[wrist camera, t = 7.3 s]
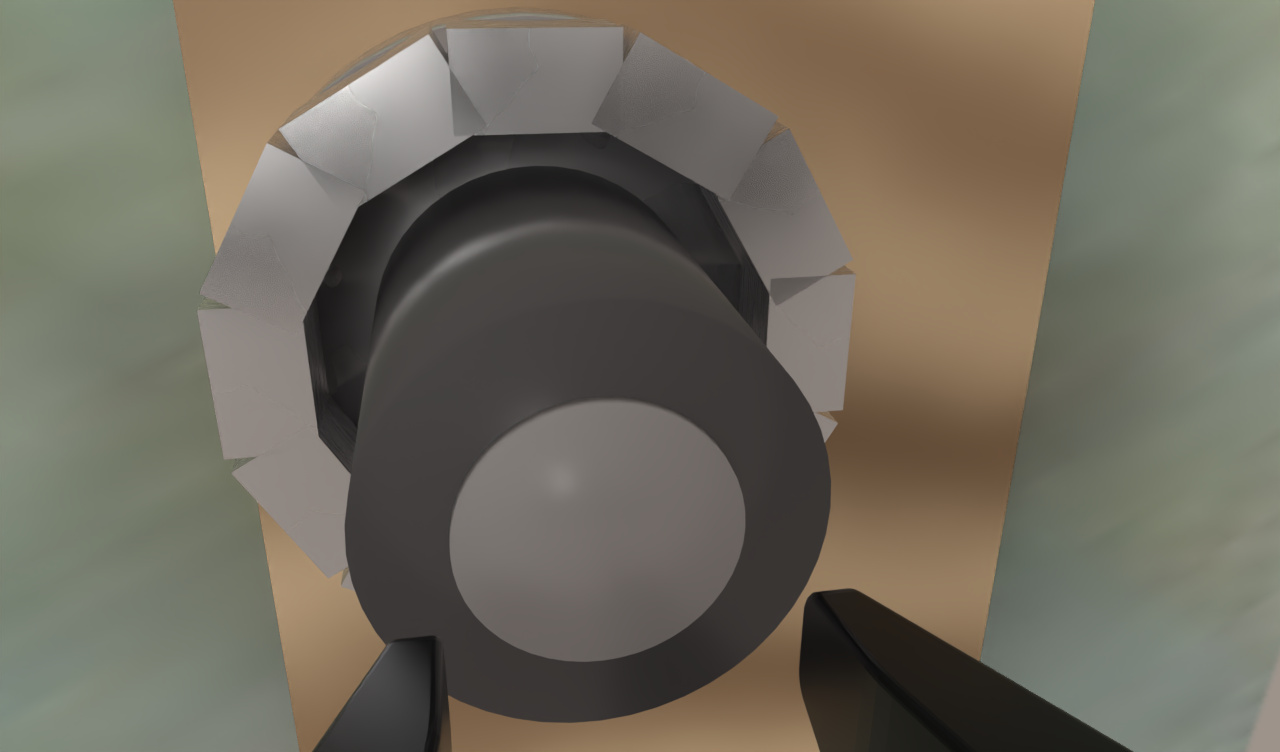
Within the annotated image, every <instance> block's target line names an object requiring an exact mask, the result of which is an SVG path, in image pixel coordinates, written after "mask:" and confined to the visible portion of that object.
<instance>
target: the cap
mask: <svg viewBox="0 0 1280 752" xmlns="http://www.w3.org/2000/svg"><path fill="white" fill-rule="evenodd" d="M830 508H831V476H830V467H829V459H828V453H827V449H826V446H825V442H824V439H823V435H822V432H821V428H820V426H819V424H818V422H817V419H816V417H815V415H814V413H813V411H812V408H811V406H810V404H809V402H808V401H807V399H806V398H805V396H804V395H803V393H802V392H801V390H800V389H799V387H798V386H797V384H796V383H795V381H794V380H793V378H792V377H791V376H790V375H789V374H788V372H787V371H786V370H785V369H784V368H783V366H782V365H781V364H780V363H779V361H778V360H777V359H776V358H775V357H774V355H773V354H772V353H771V352H770V351H769V349H768V348H767V347H766V346H765V344H764V343H763V342H762V341H761V340H760V338H759V337H758V336H757V335H756V334H755V332H754V331H753V330H752V329H751V327H750V326H749V325H748V324H747V323H746V321H745V320H744V319H743V318H742V317H741V315H740V314H739V313H738V312H737V311H736V309H735V308H734V307H733V306H732V304H731V303H730V302H729V301H728V300H727V298H726V297H725V296H724V295H723V294H722V292H721V291H720V290H719V289H718V287H717V286H716V285H715V284H714V283H713V281H712V280H711V279H710V278H709V277H708V275H707V274H706V273H705V272H704V270H703V269H702V268H701V267H700V266H699V264H698V263H697V262H696V261H695V260H694V258H693V257H692V256H691V255H690V253H689V252H688V251H687V250H686V249H685V247H684V246H683V245H682V244H681V243H680V241H679V240H678V239H677V238H676V236H675V235H674V234H673V233H672V232H671V230H670V229H669V228H668V227H667V226H666V224H665V223H664V222H663V221H662V220H661V219H660V218H659V217H658V215H657V214H656V213H655V212H654V211H653V210H652V209H651V208H650V207H648V206H647V205H646V204H645V203H644V202H643V201H641V200H640V199H639V198H638V197H637V196H635V195H633V194H632V193H630V192H629V191H627V190H626V189H624V188H622V187H621V186H619V185H617V184H615V183H613V182H611V181H609V180H606V179H604V178H602V177H600V176H597V175H593V174H590V173H587V172H584V171H580V170H576V169H570V168H564V167H558V166H526V167H516V168H510V169H505V170H501V171H497V172H493V173H489V174H486V175H484V176H481V177H478V178H476V179H473V180H470V181H468V182H466V183H465V184H463V185H461V186H459V187H457V188H455V189H453V190H451V191H450V192H448V193H447V194H445V195H444V196H443V197H441V198H440V199H439V200H437V201H436V202H434V203H433V204H432V205H431V206H429V207H428V208H427V209H426V210H425V211H424V212H423V213H422V214H421V215H420V216H419V217H418V218H417V219H416V220H415V221H414V222H413V223H412V225H411V226H410V227H409V228H408V230H407V231H406V232H405V233H404V235H403V236H402V237H401V239H400V241H399V242H398V244H397V246H396V247H395V249H394V251H393V252H392V254H391V256H390V259H389V261H388V263H387V266H386V268H385V270H384V273H383V276H382V279H381V283H380V287H379V291H378V295H377V301H376V308H375V315H374V322H373V328H372V335H371V342H370V349H369V355H368V362H367V369H366V376H365V382H364V389H363V396H362V403H361V409H360V416H359V423H358V430H357V436H356V443H355V450H354V457H353V463H352V470H351V477H350V484H349V490H348V497H347V507H346V516H345V525H344V527H345V547H346V558H347V562H348V567H349V572H350V576H351V581H352V584H353V587H354V589H355V592H356V595H357V597H358V600H359V602H360V605H361V608H362V610H363V611H364V613H365V615H366V616H367V618H368V620H369V622H370V623H371V625H372V627H373V629H374V630H375V632H376V633H377V635H378V636H379V637H380V638H381V640H382V641H383V642H384V643H385V645H387V644H388V643H390V642H391V641H392V640H396V639H402V638H411V637H420V636H429V635H436V636H438V637H440V638H441V640H442V642H443V648H444V657H445V668H446V679H447V690H448V695H449V696H451V697H453V698H455V699H456V700H458V701H460V702H463V703H466V704H468V705H471V706H473V707H476V708H479V709H481V710H484V711H487V712H491V713H495V714H499V715H503V716H507V717H511V718H515V719H522V720H530V721H537V722H554V723H577V722H590V721H602V720H607V719H612V718H618V717H623V716H629V715H633V714H636V713H639V712H643V711H646V710H650V709H653V708H657V707H659V706H662V705H664V704H667V703H669V702H672V701H674V700H677V699H679V698H682V697H684V696H686V695H688V694H690V693H692V692H694V691H696V690H698V689H700V688H702V687H704V686H705V685H707V684H709V683H711V682H712V681H714V680H715V679H717V678H719V677H720V676H722V675H723V674H725V673H726V672H728V671H729V670H731V669H732V668H734V667H735V666H736V665H737V664H739V663H740V662H741V661H742V660H743V659H745V658H746V657H747V656H748V655H750V654H751V653H752V652H753V651H754V650H756V649H757V648H758V647H759V646H760V645H761V644H762V643H763V642H764V641H765V640H766V639H767V637H768V636H769V635H770V634H771V633H772V632H773V631H774V630H775V629H776V628H777V627H778V626H779V624H780V623H781V622H782V620H783V619H784V618H785V617H786V615H787V614H788V613H789V612H790V610H791V609H792V608H793V606H794V604H795V603H796V601H797V600H798V598H799V596H800V595H801V593H802V591H803V590H804V588H805V587H806V585H807V583H808V581H809V579H810V576H811V574H812V572H813V570H814V568H815V565H816V563H817V561H818V559H819V555H820V552H821V549H822V546H823V542H824V539H825V536H826V532H827V526H828V520H829V514H830Z"/></svg>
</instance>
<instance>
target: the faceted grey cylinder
mask: <svg viewBox="0 0 1280 752" xmlns="http://www.w3.org/2000/svg"><path fill="white" fill-rule="evenodd" d="M778 117H779V116H777V115H775V114H774V113H772V112H770V111H769V110H767V109H765V108H764V107H762V106H761V105H759V104H757V103H756V102H754V101H752V100H751V99H749V98H748V97H746V96H744V95H743V94H741V93H739V92H738V91H736V90H734V89H733V88H731V87H730V86H728V85H726V84H725V83H723V82H721V81H720V80H718V79H716V78H715V77H713V76H712V75H710V74H708V73H707V72H705V71H703V70H702V69H700V68H698V67H697V66H695V65H694V64H692V63H691V62H690V61H688V60H687V59H685V58H683V57H681V56H679V55H677V54H676V53H674V52H672V51H671V50H669V49H667V48H666V47H664V46H662V45H661V44H659V43H658V42H656V41H654V40H653V39H651V38H649V37H648V36H646V35H644V34H643V33H641V32H639V31H637V30H635V29H632V28H630V27H628V26H625V25H623V24H621V23H620V25H617V24H615V23H613V22H611V21H608V20H606V19H595V18H592V17H588V16H583V15H578V14H573V13H568V12H563V11H558V10H553V9H537V8H522V7H509V8H496V9H483V10H474V11H469V12H465V13H460V14H456V15H451V16H446V17H442V18H438V19H435V20H432V21H430V22H427V23H424V24H421V25H419V26H416V27H413V28H411V29H408V30H405V31H403V32H400V33H399V34H397V35H395V36H393V37H391V38H389V39H387V40H386V41H384V42H382V43H380V44H378V45H376V46H375V47H373V48H371V49H369V50H367V51H366V52H364V53H363V54H362V55H360V56H359V57H358V58H356V59H355V60H354V61H352V62H351V63H350V64H348V65H347V66H346V67H344V68H343V69H342V70H340V71H339V72H338V73H336V74H335V75H334V76H333V77H332V78H331V79H330V80H329V81H328V82H327V83H326V84H325V85H324V86H323V87H322V88H321V89H320V90H319V91H318V92H317V93H316V94H315V95H314V96H313V97H312V98H311V99H310V100H309V101H308V102H307V103H305V104H304V105H302V106H301V107H299V108H297V109H296V110H294V111H293V112H292V114H291V115H290V116H289V117H288V118H287V120H286V121H285V122H284V123H283V124H282V125H281V126H280V127H279V129H278V130H277V131H276V132H275V134H274V135H273V136H272V137H271V138H270V140H269V141H268V142H267V144H266V146H265V148H264V150H263V152H262V155H261V157H260V159H259V161H258V164H257V166H256V168H255V170H254V172H253V175H252V177H251V179H250V181H249V184H248V186H247V188H246V190H245V192H244V195H243V197H242V199H241V201H240V204H239V206H238V208H237V210H236V212H235V215H234V217H233V219H232V221H231V224H230V226H229V228H228V230H227V232H226V235H225V237H224V239H223V241H222V244H221V246H220V248H219V250H218V253H217V255H216V257H215V259H214V261H213V264H212V266H211V268H210V270H209V273H208V275H207V277H206V279H205V281H204V284H203V286H202V288H201V290H200V293H199V294H200V295H203V296H205V298H204V300H203V302H202V303H201V305H200V306H199V308H198V309H197V313H198V319H199V324H200V330H201V335H202V341H203V347H204V352H205V358H206V363H207V369H208V374H209V380H210V385H211V391H212V396H213V402H214V407H215V413H216V418H217V424H218V430H219V435H220V441H221V446H222V452H223V457H224V459H235V458H236V461H235V464H234V466H233V469H232V472H231V474H232V475H233V476H234V477H235V478H236V479H237V480H238V481H239V482H240V483H241V485H242V486H243V487H244V488H245V489H246V490H247V491H248V492H249V493H250V494H251V495H252V496H253V498H254V499H255V500H256V501H257V502H258V503H259V504H260V505H261V506H262V507H263V508H264V509H265V511H266V512H267V513H268V514H269V515H270V516H271V517H272V518H273V519H274V520H275V521H276V522H277V524H278V525H279V526H280V527H281V528H282V529H283V530H284V531H285V532H286V533H287V534H288V535H289V537H290V538H291V539H292V540H293V541H294V542H295V543H296V544H297V545H298V546H299V547H300V548H301V550H302V551H303V552H304V553H305V554H306V555H307V556H308V557H309V558H310V559H311V560H312V561H313V563H314V564H315V565H316V566H317V567H318V568H319V569H320V570H321V571H322V572H323V573H324V574H325V576H326V577H327V578H328V579H329V578H330V577H332V576H333V575H335V574H337V573H338V572H340V571H342V570H343V574H342V581H341V587H344V588H347V589H350V590H352V591H355V589H354V587H353V584H352V581H351V576H350V572H349V567H348V562H347V558H346V547H345V527H344V525H345V516H346V507H347V497H348V490H349V484H350V477H351V470H352V463H353V457H354V450H355V443H356V436H357V430H358V423H359V416H360V409H361V403H362V396H363V389H364V382H365V376H366V369H367V362H368V355H369V349H370V342H371V335H372V328H373V322H374V315H375V308H376V301H377V295H378V291H379V287H380V283H381V279H382V276H383V273H384V270H385V268H386V266H387V263H388V261H389V259H390V256H391V254H392V252H393V251H394V249H395V247H396V246H397V244H398V242H399V241H400V239H401V237H402V236H403V235H404V233H405V232H406V231H407V230H408V228H409V227H410V226H411V225H412V223H413V222H414V221H415V220H416V219H417V218H418V217H419V216H420V215H421V214H422V213H423V212H424V211H425V210H426V209H427V208H428V207H429V206H431V205H432V204H433V203H434V202H436V201H437V200H439V199H440V198H441V197H443V196H444V195H445V194H447V193H448V192H450V191H451V190H453V189H455V188H457V187H459V186H461V185H463V184H465V183H466V182H468V181H470V180H473V179H476V178H478V177H481V176H484V175H486V174H489V173H493V172H497V171H501V170H505V169H510V168H516V167H526V166H558V167H564V168H570V169H576V170H580V171H584V172H587V173H590V174H593V175H597V176H600V177H602V178H604V179H606V180H609V181H611V182H613V183H615V184H617V185H619V186H621V187H622V188H624V189H626V190H627V191H629V192H630V193H632V194H633V195H635V196H637V197H638V198H639V199H640V200H641V201H643V202H644V203H645V204H646V205H647V206H648V207H650V208H651V209H652V210H653V211H654V212H655V213H656V214H657V215H658V217H659V218H660V219H661V220H662V221H663V222H664V223H665V224H666V226H667V227H668V228H669V229H670V230H671V232H672V233H673V234H674V235H675V236H676V238H677V239H678V240H679V241H680V243H681V244H682V245H683V246H684V247H685V249H686V250H687V251H688V252H689V253H690V255H691V256H692V257H693V258H694V260H695V261H696V262H697V263H698V264H699V266H700V267H701V268H702V269H703V270H704V272H705V273H706V274H707V275H708V277H709V278H710V279H711V280H712V281H713V283H714V284H715V285H716V286H717V287H718V289H719V290H720V291H721V292H722V294H723V295H724V296H725V297H726V298H727V300H728V301H729V302H730V303H731V304H732V306H733V307H734V308H735V309H736V311H737V312H738V313H739V314H740V315H741V317H742V318H743V319H744V320H745V321H746V323H747V324H748V325H749V326H750V327H751V329H752V330H753V331H754V332H755V334H756V335H757V336H758V337H759V338H760V340H761V341H762V342H763V343H764V344H765V346H766V347H767V348H768V349H769V351H770V352H771V353H772V354H773V355H774V357H775V358H776V359H777V360H778V361H779V363H780V364H781V365H782V366H783V368H784V369H785V370H786V371H787V372H788V374H789V375H790V376H791V377H792V378H793V380H794V381H795V383H796V384H797V386H798V387H799V389H800V390H801V392H802V393H803V395H804V396H805V398H806V399H807V401H808V402H809V404H810V406H811V408H812V411H813V413H814V415H815V417H816V419H817V422H818V424H819V426H820V428H821V432H822V435H823V439H824V442H826V441H827V439H828V438H829V436H830V435H831V433H832V432H833V430H834V429H835V427H836V426H837V424H838V423H837V421H836V420H835V419H834V418H833V417H832V415H831V414H830V413H829V412H828V411H838V410H843V404H844V394H845V383H846V373H847V362H848V352H849V341H850V331H851V320H852V309H853V299H854V288H855V278H856V274H855V273H854V272H853V271H851V270H850V269H849V268H847V267H846V266H845V264H847V263H849V262H850V261H852V260H853V258H852V256H851V254H850V252H849V250H848V248H847V246H846V244H845V242H844V239H843V237H842V235H841V233H840V231H839V229H838V227H837V225H836V223H835V221H834V219H833V217H832V215H831V213H830V211H829V209H828V207H827V205H826V203H825V200H824V198H823V196H822V194H821V192H820V190H819V188H818V186H817V184H816V182H815V180H814V178H813V176H812V174H811V172H810V170H809V168H808V166H807V164H806V161H805V159H804V157H803V155H802V153H801V151H800V149H799V147H798V145H797V143H796V141H795V139H794V137H793V135H792V133H791V131H790V129H789V128H788V127H786V126H784V125H782V124H780V123H778V122H776V120H777V119H778Z"/></svg>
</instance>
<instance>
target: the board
mask: <svg viewBox="0 0 1280 752" xmlns="http://www.w3.org/2000/svg"><path fill="white" fill-rule="evenodd" d="M1094 3H1095V0H173V4H174V10H175V16H176V21H177V27H178V33H179V39H180V45H181V51H182V57H183V63H184V69H185V75H186V81H187V87H188V93H189V99H190V104H191V110H192V116H193V122H194V128H195V134H196V140H197V146H198V152H199V158H200V164H201V170H202V176H203V181H204V187H205V193H206V199H207V205H208V211H209V217H210V223H211V229H212V235H213V241H214V247H215V253H216V255H217V253H218V250H219V248H220V246H221V244H222V241H223V239H224V237H225V235H226V232H227V230H228V228H229V226H230V224H231V221H232V219H233V217H234V215H235V212H236V210H237V208H238V206H239V204H240V201H241V199H242V197H243V195H244V192H245V190H246V188H247V186H248V184H249V181H250V179H251V177H252V175H253V172H254V170H255V168H256V166H257V164H258V161H259V159H260V157H261V155H262V152H263V150H264V148H265V146H266V144H267V142H268V141H269V140H270V138H271V137H272V136H273V135H274V134H275V132H276V131H277V130H278V129H279V127H280V126H281V125H282V124H283V123H284V122H285V121H286V120H287V118H288V117H289V116H290V115H291V114H292V112H293V111H294V110H296V109H297V108H299V107H301V106H302V105H304V104H305V103H307V102H308V101H309V100H310V99H311V98H312V97H313V96H314V95H315V94H316V93H317V92H318V91H319V90H320V89H321V88H322V87H323V86H324V85H325V84H326V83H327V82H328V81H329V80H330V79H331V78H332V77H333V76H334V75H335V74H336V73H338V72H339V71H340V70H342V69H343V68H344V67H346V66H347V65H348V64H350V63H351V62H352V61H354V60H355V59H356V58H358V57H359V56H360V55H362V54H363V53H364V52H366V51H367V50H369V49H371V48H373V47H375V46H376V45H378V44H380V43H382V42H384V41H386V40H387V39H389V38H391V37H393V36H395V35H397V34H399V33H400V32H403V31H405V30H408V29H411V28H413V27H416V26H419V25H421V24H424V23H427V22H430V21H432V20H435V19H438V18H442V17H446V16H451V15H456V14H460V13H465V12H469V11H474V10H483V9H496V8H509V7H522V8H537V9H553V10H558V11H563V12H568V13H573V14H578V15H583V16H588V17H592V18H595V19H606V20H608V21H611V22H613V23H615V24H617V25H620V23H621V24H623V25H625V26H628V27H630V28H632V29H635V30H637V31H639V32H641V33H643V34H644V35H646V36H648V37H649V38H651V39H653V40H654V41H656V42H658V43H659V44H661V45H662V46H664V47H666V48H667V49H669V50H671V51H672V52H674V53H676V54H677V55H679V56H681V57H683V58H685V59H687V60H688V61H690V62H691V63H692V64H694V65H695V66H697V67H698V68H700V69H702V70H703V71H705V72H707V73H708V74H710V75H712V76H713V77H715V78H716V79H718V80H720V81H721V82H723V83H725V84H726V85H728V86H730V87H731V88H733V89H734V90H736V91H738V92H739V93H741V94H743V95H744V96H746V97H748V98H749V99H751V100H752V101H754V102H756V103H757V104H759V105H761V106H762V107H764V108H765V109H767V110H769V111H770V112H772V113H774V114H775V115H777V116H779V117H778V119H777V120H776V122H778V123H780V124H782V125H784V126H786V127H788V128H789V129H790V131H791V133H792V135H793V137H794V139H795V141H796V143H797V145H798V147H799V149H800V151H801V153H802V155H803V157H804V159H805V161H806V164H807V166H808V168H809V170H810V172H811V174H812V176H813V178H814V180H815V182H816V184H817V186H818V188H819V190H820V192H821V194H822V196H823V198H824V200H825V203H826V205H827V207H828V209H829V211H830V213H831V215H832V217H833V219H834V221H835V223H836V225H837V227H838V229H839V231H840V233H841V235H842V237H843V239H844V242H845V244H846V246H847V248H848V250H849V252H850V254H851V256H852V258H853V260H852V261H850V262H849V263H847V264H845V266H846V267H847V268H849V269H850V270H851V271H853V272H854V273H855V274H856V278H855V288H854V299H853V309H852V320H851V331H850V341H849V352H848V362H847V373H846V383H845V394H844V404H843V410H838V411H828V412H829V413H830V414H831V415H832V417H833V418H834V419H835V420H836V421H837V423H838V424H837V426H836V427H835V429H834V430H833V432H832V433H831V435H830V436H829V438H828V439H827V441H826V442H825V446H826V449H827V453H828V459H829V467H830V476H831V508H830V514H829V520H828V526H827V532H826V536H825V539H824V542H823V546H822V549H821V552H820V555H819V559H818V561H817V563H816V565H815V568H814V570H813V572H812V574H811V576H810V579H809V581H808V583H807V585H806V587H805V588H804V590H803V591H802V593H801V595H800V596H799V598H798V600H797V601H796V603H795V604H794V606H793V608H792V609H791V610H790V612H789V613H788V614H787V615H786V617H785V618H784V619H783V620H782V622H781V623H780V624H779V626H778V627H777V628H776V629H775V630H774V631H773V632H772V633H771V634H770V635H769V636H768V637H767V639H766V640H765V641H764V642H763V643H762V644H761V645H760V646H759V647H758V648H757V649H756V650H754V651H753V652H752V653H751V654H750V655H748V656H747V657H746V658H745V659H743V660H742V661H741V662H740V663H739V664H737V665H736V666H735V667H734V668H732V669H731V670H729V671H728V672H726V673H725V674H723V675H722V676H720V677H719V678H717V679H715V680H714V681H712V682H711V683H709V684H707V685H705V686H704V687H702V688H700V689H698V690H696V691H694V692H692V693H690V694H688V695H686V696H684V697H682V698H679V699H677V700H674V701H672V702H669V703H667V704H664V705H662V706H659V707H657V708H653V709H650V710H646V711H643V712H639V713H636V714H633V715H629V716H623V717H618V718H612V719H607V720H602V721H590V722H577V723H554V722H537V721H530V720H522V719H515V718H511V717H507V716H503V715H499V714H495V713H491V712H487V711H484V710H481V709H479V708H476V707H473V706H471V705H468V704H466V703H463V702H460V701H458V700H456V699H455V698H453V697H451V696H449V695H448V701H449V712H450V725H451V742H452V752H820V751H819V748H818V745H817V741H816V738H815V735H814V732H813V729H812V726H811V723H810V720H809V716H808V713H807V710H806V707H805V704H804V701H803V697H802V693H801V688H800V682H799V660H800V649H801V637H802V625H803V613H804V606H805V603H806V600H807V598H808V597H809V596H810V595H811V594H812V593H814V592H819V591H828V590H836V589H845V588H852V589H856V590H858V591H860V592H862V593H864V594H865V595H867V596H869V597H871V598H872V599H874V600H876V601H877V602H879V603H881V604H882V605H884V606H886V607H888V608H889V609H891V610H893V611H894V612H896V613H898V614H900V615H901V616H903V617H905V618H906V619H908V620H910V621H911V622H913V623H915V624H917V625H918V626H920V627H922V628H923V629H925V630H927V631H929V632H930V633H932V634H934V635H935V636H937V637H939V638H940V639H942V640H944V641H946V642H947V643H949V644H951V645H952V646H954V647H956V648H958V649H959V650H961V651H963V652H964V653H966V654H968V655H969V656H971V657H973V658H975V659H976V660H978V661H980V657H981V651H982V646H983V640H984V634H985V628H986V623H987V617H988V611H989V605H990V600H991V594H992V588H993V582H994V577H995V571H996V565H997V560H998V554H999V548H1000V542H1001V537H1002V531H1003V525H1004V519H1005V514H1006V508H1007V502H1008V496H1009V491H1010V485H1011V479H1012V473H1013V468H1014V462H1015V456H1016V450H1017V445H1018V439H1019V433H1020V428H1021V422H1022V416H1023V410H1024V405H1025V399H1026V393H1027V387H1028V382H1029V376H1030V370H1031V364H1032V359H1033V353H1034V347H1035V341H1036V336H1037V330H1038V324H1039V318H1040V313H1041V307H1042V301H1043V296H1044V290H1045V284H1046V278H1047V273H1048V267H1049V261H1050V255H1051V250H1052V244H1053V238H1054V232H1055V227H1056V221H1057V215H1058V209H1059V204H1060V198H1061V192H1062V186H1063V181H1064V175H1065V169H1066V164H1067V158H1068V152H1069V146H1070V141H1071V135H1072V129H1073V123H1074V118H1075V112H1076V106H1077V100H1078V95H1079V89H1080V83H1081V77H1082V72H1083V66H1084V60H1085V54H1086V49H1087V43H1088V37H1089V32H1090V26H1091V20H1092V14H1093V9H1094ZM258 507H259V513H260V519H261V525H262V531H263V537H264V543H265V549H266V555H267V561H268V566H269V572H270V578H271V584H272V590H273V596H274V602H275V608H276V614H277V620H278V626H279V632H280V638H281V643H282V649H283V655H284V661H285V667H286V673H287V679H288V685H289V691H290V697H291V703H292V709H293V715H294V720H295V726H296V732H297V738H298V744H299V750H300V752H312V751H313V750H314V748H315V747H316V745H317V744H318V742H319V741H320V740H321V738H322V737H323V735H324V734H325V732H326V731H327V730H328V728H329V727H330V725H331V724H332V722H333V721H334V720H335V718H336V717H337V715H338V714H339V712H340V711H341V710H342V708H343V707H344V705H345V704H346V702H347V701H348V700H349V698H350V697H351V695H352V694H353V692H354V691H355V690H356V688H357V687H358V685H359V684H360V682H361V681H362V680H363V678H364V677H365V675H366V674H367V672H368V671H369V670H370V668H371V667H372V665H373V664H374V662H375V661H376V660H377V658H378V657H379V655H380V654H381V652H382V651H383V650H384V648H385V647H386V645H385V643H384V642H383V641H382V640H381V638H380V637H379V636H378V635H377V633H376V632H375V630H374V629H373V627H372V625H371V623H370V622H369V620H368V618H367V616H366V615H365V613H364V611H363V610H362V608H361V605H360V602H359V600H358V597H357V595H356V592H355V591H352V590H350V589H347V588H344V587H341V581H342V574H343V570H342V571H340V572H338V573H337V574H335V575H333V576H332V577H330V578H329V579H328V578H327V577H326V576H325V574H324V573H323V572H322V571H321V570H320V569H319V568H318V567H317V566H316V565H315V564H314V563H313V561H312V560H311V559H310V558H309V557H308V556H307V555H306V554H305V553H304V552H303V551H302V550H301V548H300V547H299V546H298V545H297V544H296V543H295V542H294V541H293V540H292V539H291V538H290V537H289V535H288V534H287V533H286V532H285V531H284V530H283V529H282V528H281V527H280V526H279V525H278V524H277V522H276V521H275V520H274V519H273V518H272V517H271V516H270V515H269V514H268V513H267V512H266V511H265V509H264V508H263V507H262V506H261V505H260V504H259V503H258Z"/></svg>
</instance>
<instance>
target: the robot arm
mask: <svg viewBox="0 0 1280 752" xmlns="http://www.w3.org/2000/svg"><path fill="white" fill-rule="evenodd" d="M799 682H800V688H801V693H802V697H803V701H804V704H805V707H806V710H807V713H808V716H809V720H810V723H811V726H812V729H813V732H814V735H815V738H816V741H817V745H818V748H819V751H820V752H1133V751H1131V750H1130V749H1128V748H1126V747H1125V746H1123V745H1121V744H1120V743H1118V742H1116V741H1114V740H1113V739H1111V738H1109V737H1108V736H1106V735H1104V734H1102V733H1101V732H1099V731H1097V730H1096V729H1094V728H1092V727H1091V726H1089V725H1087V724H1085V723H1084V722H1082V721H1080V720H1079V719H1077V718H1075V717H1073V716H1072V715H1070V714H1068V713H1067V712H1065V711H1063V710H1062V709H1060V708H1058V707H1056V706H1055V705H1053V704H1051V703H1050V702H1048V701H1046V700H1044V699H1043V698H1041V697H1039V696H1038V695H1036V694H1034V693H1033V692H1031V691H1029V690H1027V689H1026V688H1024V687H1022V686H1021V685H1019V684H1017V683H1015V682H1014V681H1012V680H1010V679H1009V678H1007V677H1005V676H1004V675H1002V674H1000V673H998V672H997V671H995V670H993V669H992V668H990V667H988V666H987V665H985V664H983V663H981V662H980V661H978V660H976V659H975V658H973V657H971V656H969V655H968V654H966V653H964V652H963V651H961V650H959V649H958V648H956V647H954V646H952V645H951V644H949V643H947V642H946V641H944V640H942V639H940V638H939V637H937V636H935V635H934V634H932V633H930V632H929V631H927V630H925V629H923V628H922V627H920V626H918V625H917V624H915V623H913V622H911V621H910V620H908V619H906V618H905V617H903V616H901V615H900V614H898V613H896V612H894V611H893V610H891V609H889V608H888V607H886V606H884V605H882V604H881V603H879V602H877V601H876V600H874V599H872V598H871V597H869V596H867V595H865V594H864V593H862V592H860V591H858V590H856V589H852V588H845V589H836V590H828V591H819V592H814V593H812V594H811V595H810V596H809V597H808V598H807V600H806V603H805V606H804V613H803V625H802V637H801V649H800V660H799ZM312 752H452V742H451V725H450V712H449V701H448V690H447V679H446V668H445V657H444V648H443V642H442V640H441V638H440V637H438V636H436V635H429V636H420V637H411V638H402V639H396V640H392V641H391V642H390V643H388V644H387V645H386V647H385V648H384V650H383V651H382V652H381V654H380V655H379V657H378V658H377V660H376V661H375V662H374V664H373V665H372V667H371V668H370V670H369V671H368V672H367V674H366V675H365V677H364V678H363V680H362V681H361V682H360V684H359V685H358V687H357V688H356V690H355V691H354V692H353V694H352V695H351V697H350V698H349V700H348V701H347V702H346V704H345V705H344V707H343V708H342V710H341V711H340V712H339V714H338V715H337V717H336V718H335V720H334V721H333V722H332V724H331V725H330V727H329V728H328V730H327V731H326V732H325V734H324V735H323V737H322V738H321V740H320V741H319V742H318V744H317V745H316V747H315V748H314V750H313V751H312Z"/></svg>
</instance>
